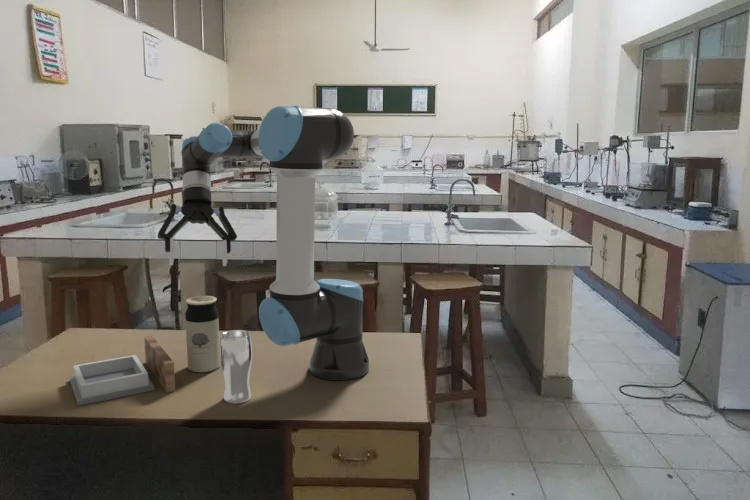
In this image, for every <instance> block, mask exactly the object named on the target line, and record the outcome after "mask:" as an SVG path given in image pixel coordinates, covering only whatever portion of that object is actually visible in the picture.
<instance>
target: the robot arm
mask: <svg viewBox="0 0 750 500" xmlns="http://www.w3.org/2000/svg"><path fill="white" fill-rule="evenodd" d="M260 123H261V124H260V127H259V128H258V129H244V130H243V129H230V128H229V127H228V126H227V125H224V124H222V123H220V122H211V123H209V124H208V125H207V126H206V127H205V128H204V129H202V130H201V131H200V132H199V135H197V136H196V135H195V136H190V137H189V138H185V139H183V141H182V143H181V159H182V160H181V165H182V166H181V169H182V172H181V173H182V206H178V205H177V204H175V203H172V204H171V205H170V206H171V207H170V212H169V213H168V215H167V217H166V219H165V221H164V222H163V224H162V225H161V227H160V229H159V231H158V234H157V239H159V240H163V241H164V251H165V253H169V259H168V261H169V266H173V265H174V261H175V256H174V255H175V254H174V238H173V237H175V235H176V234H177V233H178V232H179V231H180V230H182V228H183V227H184V226H185V225H187V224H188V223H191V224H201V225H203V224H206V225H207V226H209V227H210V228H211V229H212V230H213V232H215V234H217V235H218V237H219V238H221V240H222V242H221V251H222V253H221V254H222V255H221V256H222V267H227V264H228V254H230V252H231V251H232V249H231V245H232V244H231V242H235V241H236V240H237V238H238V234H237V233H236V231H235V230H234V228H233V226H232V224H231V222H230V221H229V219H228V218H227V216H226V214H225V213H226V212H225V210H224V209H225V208H224V207H223V206H219V208H218V207H217V208H213V203H212V202H213V201H212V180H211V176H212V175H211V165H212V164H213V163H215V162H216V160H217V159H219V158H265V160H267V161H269V169H270V170H271V171H272V173H274V174H275V176H276V240H275V241H276V243H275V244H276V251H275V252H276V257H275V258H276V264H275V265H276V267H275V268H276V269H275V270H276V272H275V275H276V277H275V279H274V281H273V282H272V283H271V284H270V285H269V297H266V298H264V299H263V300H262V301H261V303H260V304H259V307H258V316H259V317H258V318H259V322H260V325H261V327H262V330H263V331H264V333H265V335H266V337H267V338H268V339H269V340H270V341H271V342H272V343H273V344H275V345H276V346H280V347H286V346H291V345H293V346H294V345H298V344H300V343H304V342H306V341H309V340H314V339H316V340H315V344H314V347H313V350H312V352H311V353H312V354H311V357H310V359H309V372H310V373H311V374H312V375H313V376H315V377H317V378H320V379H323V380H328V381H329V380H330V381H349V380H354V379H358V378H361V377H362V376H365V375H367V373H368V372H369V370H370V359H369V356H368V352H367V351H366V350H367V349H366V347H365V343H364V341H363V320H364V319H363V318H364V317H363V316H364V313H363V311H364V298H363V297H364V295H363V287H362V286H361V285H360V284H359V283H357V282H355V281H351V280H346V279H338V278H321V279H318V280H317V281H315V279H314V277H315V276H314V275H315V272H314V271H315V268H314V267H315V229H316V227H315V220H316V217H315V214H316V211H315V210H316V177H317V176H318V175H319V174H320V172H321V171H323V160H325V161H326V160H334V159H338V158H340V157H342V156H344V155H345V154H346V153H347V152H349V150H350V149H351V147H352V145H353V143H354V138H355V131H354V125H352V122H351V120H350V119H349V117H348V116H347V115H346V114H344V113H343V112H342V111H340V110H337V109H334V108H331V107H330V108H329V107H313V106H312V107H311V106H302V105H293V104H292V105H279V106H275V107H273V108H271V109H270V110H269V111H268V112H267V113H266V115H265V116H264V117H263V119H262V121H261V122H260ZM180 212H181V214H182V216H183V217H182V218H181V219H180V220H179V221H178V222H177V223H176V224H175V225H174V226H173V227H172V228H171V229H170V230H169V231H168V232H167V230H168V228H169V227H170V225H171V224H172V222H173V219H174V218H175V215H178V214H179V213H180ZM213 214H215V216H216V217H217V218H218V219H219V221H220V223H221V225H222V226H223V228H222V227H221V226H220V225H219V223H218V222H217V221H216V220H215V217H213ZM166 232H167V233H166Z"/></svg>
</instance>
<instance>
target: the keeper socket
mask: <svg viewBox="0 0 750 500" xmlns="http://www.w3.org/2000/svg"><path fill="white" fill-rule="evenodd" d="M73 374H74V375H72V376H69V382H70V385H71V388H72V391H73V394H74V398H75V401H76V405H77V406H78V407H79V406H84V405H90V404H93V403H98V402H103V401H108V400H113V399H118V398H123V397H129V396H133V395H136V394H137V395H138V394H141V393H142V394H143V393H146V392H147V393H149V392H151V391H155V384H153V382H152V381H151V378H150V377H149V372H148V371H147V370H146V368H145V367H144V365H143V363H142V362H141V361H140V359H139V358H138V356H137V354H132V355H128V356H121V357H116V358H108V359H104V360H99V361H93V362H86V363H81V364H75V365H73Z"/></svg>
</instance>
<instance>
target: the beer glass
mask: <svg viewBox="0 0 750 500" xmlns="http://www.w3.org/2000/svg"><path fill="white" fill-rule="evenodd" d="M251 334H252V333H251V332H250V331H248V330H246V329H244V330H243V329H231V330H227V331H224V332H221V333H220V334H219V345H220V366H221V369H222V373H223V378H224V392H223V393H224V394H223V401H225V402H226V403H228V404H234V405H235V404H242V403H247V402H248V401H250V400H251V398H252V392H251V387H250V373H251V369H252V363H253V362H252V360H253V345H252V336H251Z"/></svg>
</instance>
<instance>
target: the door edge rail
mask: <svg viewBox="0 0 750 500" xmlns="http://www.w3.org/2000/svg"><path fill="white" fill-rule="evenodd" d="M143 338H144V340H143V341H144V353H145V358H144V359H145V364H146V365H147V366H148V368H149V369H150V371H151V372H152V374H153V376H154V377H155V379H156V380H157V381H158V383H159V384H160V386H161V387H162V388H163V390H164V392H165V393H166V394H169V393H172V392H176V379H175V378H176V377H175V374H176V373H175V362H174V360H173V359H172V358H171V357H170V356H169V354H168V353H167V352H166V351H165V350H164V348H163V347H162V346H161V344H159V342H158V341H157V339H156V338H155V337H154V336H153V335H149V336H144V337H143Z"/></svg>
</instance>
